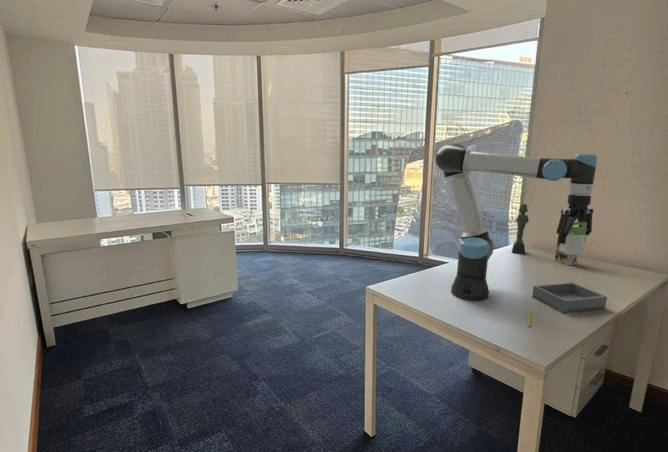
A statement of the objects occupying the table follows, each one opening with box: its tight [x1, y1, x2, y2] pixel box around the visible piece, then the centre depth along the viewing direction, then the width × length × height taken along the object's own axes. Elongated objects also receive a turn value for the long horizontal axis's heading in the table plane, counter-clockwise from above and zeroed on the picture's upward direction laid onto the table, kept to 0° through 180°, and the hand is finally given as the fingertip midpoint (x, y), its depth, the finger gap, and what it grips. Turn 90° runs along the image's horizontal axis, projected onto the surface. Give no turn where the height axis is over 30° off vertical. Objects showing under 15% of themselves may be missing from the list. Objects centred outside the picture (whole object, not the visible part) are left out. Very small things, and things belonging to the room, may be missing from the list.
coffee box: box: [554, 234, 579, 266], centre depth 206 cm, size 9×6×16 cm
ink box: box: [560, 221, 587, 256], centre depth 150 cm, size 7×4×13 cm, turn 86°
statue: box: [511, 203, 530, 255], centre depth 223 cm, size 7×8×30 cm
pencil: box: [527, 310, 532, 328], centre depth 138 cm, size 1×14×1 cm, turn 153°
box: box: [531, 281, 608, 314], centre depth 153 cm, size 20×16×5 cm
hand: (571, 250), depth 152 cm, fingers closed on ink box, 8 cm apart
